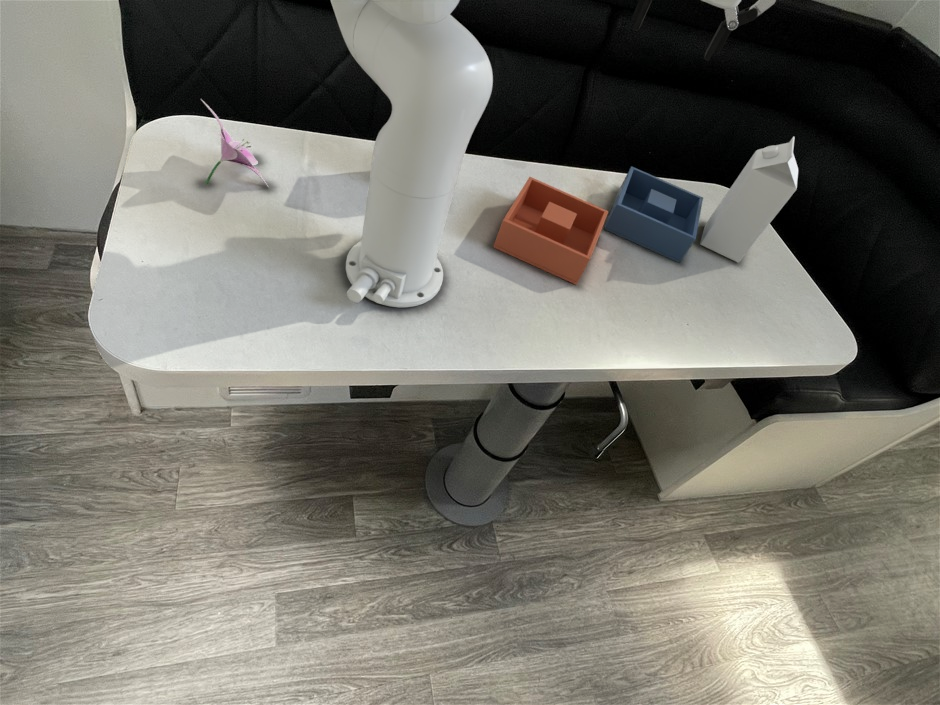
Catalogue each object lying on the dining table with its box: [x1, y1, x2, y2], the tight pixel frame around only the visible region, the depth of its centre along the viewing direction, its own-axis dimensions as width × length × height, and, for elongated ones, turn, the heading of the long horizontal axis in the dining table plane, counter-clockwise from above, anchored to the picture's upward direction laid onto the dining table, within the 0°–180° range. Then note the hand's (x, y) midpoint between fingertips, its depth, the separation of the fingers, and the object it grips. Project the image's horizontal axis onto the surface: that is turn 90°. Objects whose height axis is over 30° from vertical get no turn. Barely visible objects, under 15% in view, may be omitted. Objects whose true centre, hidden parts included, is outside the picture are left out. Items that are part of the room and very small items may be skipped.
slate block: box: [639, 189, 676, 224], centre depth 97 cm, size 4×4×4 cm
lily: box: [200, 98, 269, 187], centre depth 78 cm, size 12×12×10 cm
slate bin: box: [603, 166, 704, 264], centre depth 97 cm, size 13×13×5 cm
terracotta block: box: [535, 202, 577, 244], centre depth 87 cm, size 4×4×4 cm
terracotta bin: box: [493, 176, 609, 286], centre depth 87 cm, size 13×13×5 cm
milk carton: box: [699, 136, 799, 264], centre depth 94 cm, size 7×7×19 cm
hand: (671, 42), depth 74 cm, fingers open, 9 cm apart
